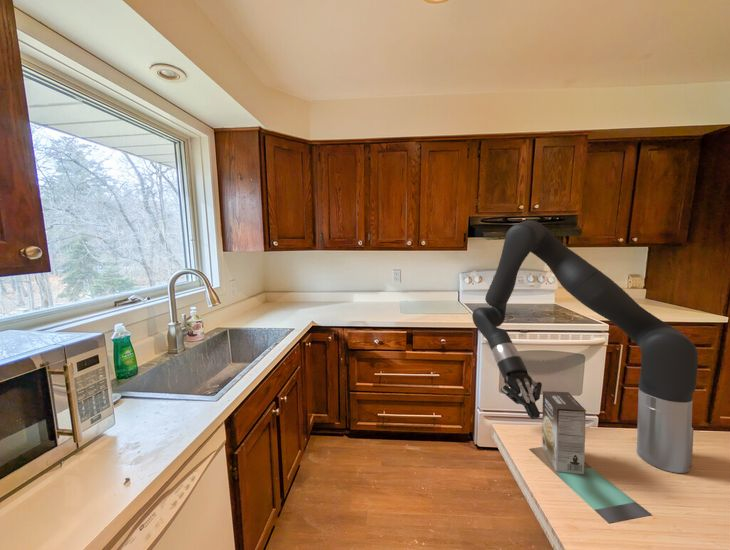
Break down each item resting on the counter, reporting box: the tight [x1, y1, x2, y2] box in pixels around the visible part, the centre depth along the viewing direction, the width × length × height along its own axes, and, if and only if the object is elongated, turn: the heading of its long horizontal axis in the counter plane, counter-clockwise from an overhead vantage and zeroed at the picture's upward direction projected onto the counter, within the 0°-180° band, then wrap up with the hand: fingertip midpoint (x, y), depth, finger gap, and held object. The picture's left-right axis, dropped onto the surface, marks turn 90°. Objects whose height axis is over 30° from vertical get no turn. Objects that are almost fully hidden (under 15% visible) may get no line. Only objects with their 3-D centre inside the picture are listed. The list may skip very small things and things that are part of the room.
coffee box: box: [541, 390, 587, 474], centre depth 73 cm, size 9×6×16 cm
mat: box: [528, 446, 653, 524], centre depth 68 cm, size 10×22×1 cm, turn 9°
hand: (535, 418), depth 82 cm, fingers closed
